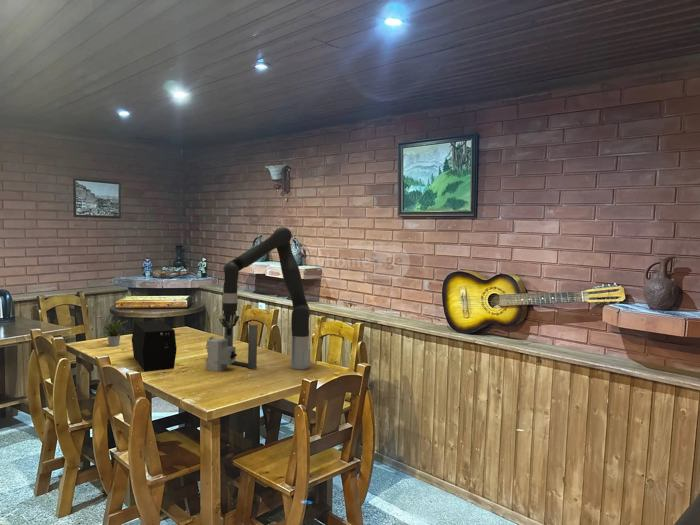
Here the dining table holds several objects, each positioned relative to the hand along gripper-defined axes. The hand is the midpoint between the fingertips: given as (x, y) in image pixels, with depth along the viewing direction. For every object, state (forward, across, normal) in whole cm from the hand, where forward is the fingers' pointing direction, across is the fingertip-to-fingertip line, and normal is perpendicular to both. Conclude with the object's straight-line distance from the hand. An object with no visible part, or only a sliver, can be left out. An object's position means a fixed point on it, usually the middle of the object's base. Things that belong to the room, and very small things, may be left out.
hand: (229, 335), depth 255 cm
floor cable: (+18, +9, 0) cm, 20 cm away
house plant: (+18, +4, +90) cm, 92 cm away
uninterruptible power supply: (+18, -13, +40) cm, 45 cm away
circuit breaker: (+18, -2, +3) cm, 18 cm away
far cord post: (+18, +9, +8) cm, 21 cm away
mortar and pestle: (+18, +11, +19) cm, 28 cm away
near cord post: (+18, +9, -8) cm, 21 cm away
